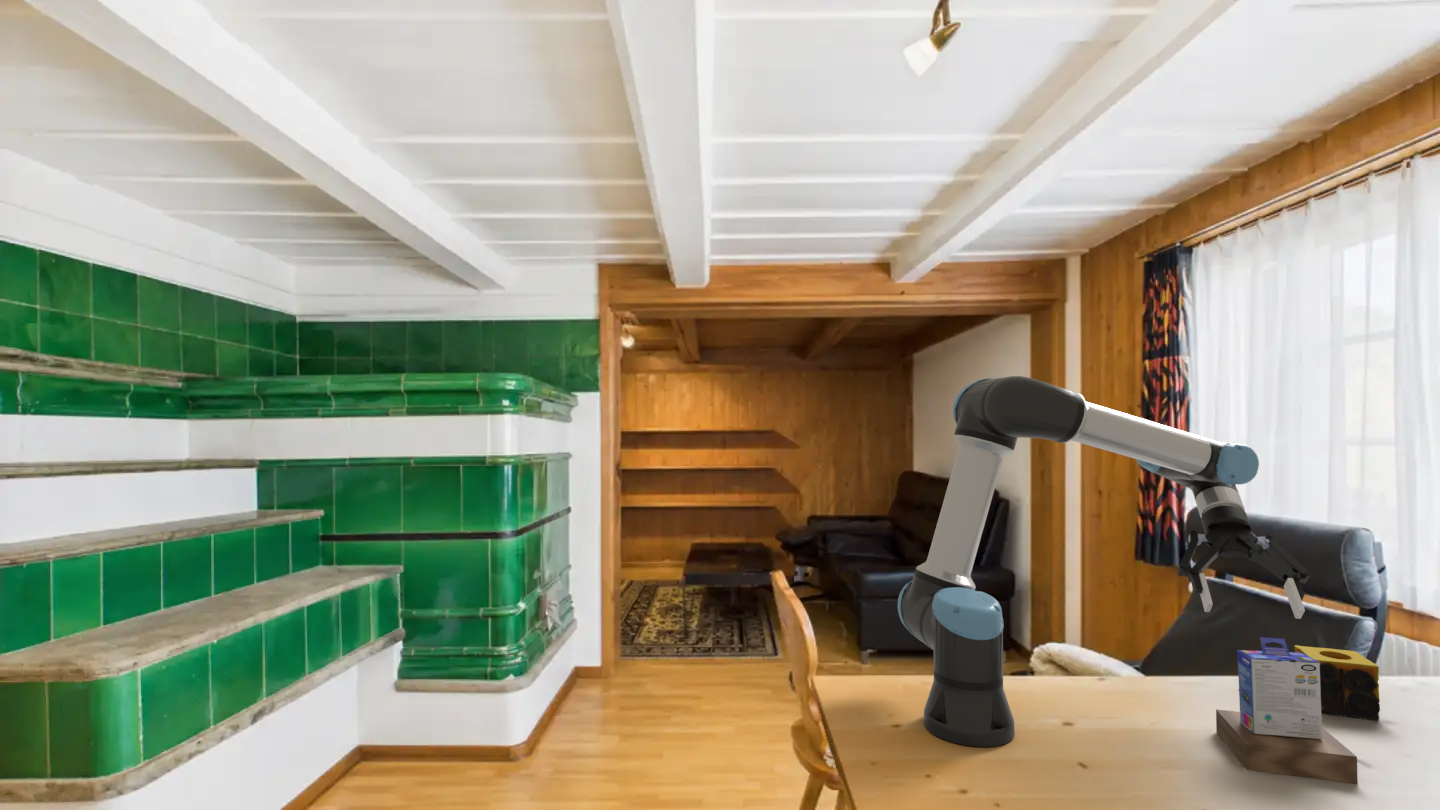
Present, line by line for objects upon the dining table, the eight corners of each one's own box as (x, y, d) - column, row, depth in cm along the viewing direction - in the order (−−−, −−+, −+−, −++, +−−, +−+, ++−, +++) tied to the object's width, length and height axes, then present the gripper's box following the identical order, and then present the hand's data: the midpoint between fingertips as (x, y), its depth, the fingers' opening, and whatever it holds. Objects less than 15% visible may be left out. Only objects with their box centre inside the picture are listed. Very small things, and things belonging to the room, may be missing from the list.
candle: (1312, 713, 133) (1311, 659, 133) (1292, 694, 142) (1291, 644, 142) (1382, 722, 129) (1380, 666, 129) (1356, 702, 138) (1355, 650, 139)
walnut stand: (1246, 769, 111) (1246, 743, 111) (1216, 732, 125) (1216, 709, 125) (1357, 783, 107) (1357, 756, 107) (1313, 743, 120) (1313, 719, 120)
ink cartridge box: (1304, 726, 118) (1302, 637, 118) (1325, 741, 112) (1323, 648, 113) (1236, 721, 120) (1235, 634, 120) (1253, 735, 114) (1251, 644, 115)
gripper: (1293, 530, 139) (1333, 628, 125) (1147, 524, 147) (1168, 616, 133) (1305, 505, 134) (1347, 605, 120) (1153, 501, 142) (1176, 594, 128)
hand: (1253, 611), depth 126 cm, fingers open, 13 cm apart
